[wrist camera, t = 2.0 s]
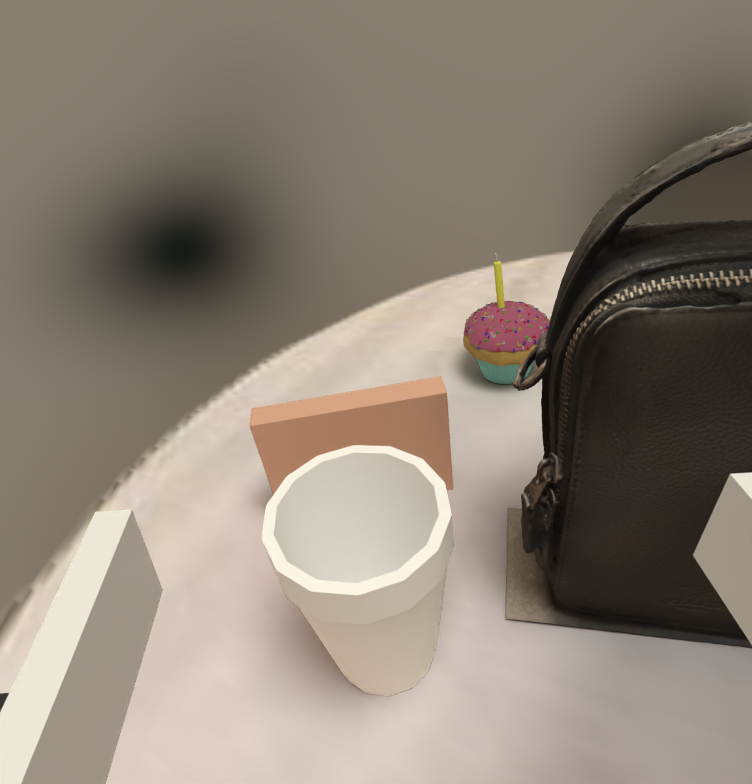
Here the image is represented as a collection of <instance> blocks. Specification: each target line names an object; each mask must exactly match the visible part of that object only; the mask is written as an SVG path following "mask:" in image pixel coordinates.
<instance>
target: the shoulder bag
mask: <svg viewBox="0 0 752 784" xmlns="http://www.w3.org/2000/svg"><path fill="white" fill-rule="evenodd" d="M750 149H752V122H749V123H745V124H744V125H740V126H735V127H733V128H730V129H727V130H723V131H719V132H714V133H711V134H709V135H706V136H704V137H701V138H699V139H697V140H695V141H693V142H691V143H689V144H687V145H686V146H684V147H683V148H681V149H678V150H677V151H675V152H674V153H672V154H669V155H668V156H666V157H665V158H663V159H662V160H660V161H658V162H656V163H655V164H653V165H652V166H650V167H649V168H647V169H646V170H644V171H642V172H641V173H640V174H639V175H637V176H636V177H635V178H634V179H633V180H631V181H630V182H628V183H626V185H625V186H624V187H623V188H621V189H620V190H618V191H617V192H616V193H615V194H614V195H612V197H611V198H610V199H609V200H608V201H607V202H606V203H605V205H604V206H603V207H602V208H601V209H600V211H599V212H598V214H597V215H596V216H595V217H594V218H593V220H592V222H591V224H590V225H589V227H588V228H587V230H586V231H585V233H584V235H583V236H582V238H581V240H580V242H579V244H578V246H577V247H576V249H575V251H574V253H573V255H572V257H571V259H570V261H569V263H568V266H567V268H566V272H565V274H564V276H563V279H562V281H561V284H560V288H559V291H558V295H557V299H556V301H555V305H554V308H553V312H552V316H551V319H550V323H549V327H548V330H546V331H545V332H543V334H542V335H541V336H540V338H539V340H538V343H537V345H536V346H535V347H534V349H533V350H532V351H531V352H530V353H529V354H528V355H527V357H526V358H525V360H524V362H523V363H522V364H521V365H520V366H519V368H518V371H517V376H516V379H515V380H514V381H513V386H514V387H515V388H517V389H518V391H520V390H525V389H529V388H530V387H532V386H534V385H535V384H536V383H538V382H539V381H540V379H541V378H542V399H541V407H542V432H543V445H544V452H545V453H544V456H543V460H541V461H540V463H539V465H538V470H537V475H536V476H535V477H534V478H533V479H532V481H531V482H530V483H529V484H528V485H527V486H526V487H525V489H524V493H523V494H522V495H521V498H522V509H515V508H508V537H507V591H506V619H515V620H524V621H533V622H541V623H551V624H559V625H565V626H574V627H582V628H592V629H601V630H608V631H617V632H627V633H634V634H642V635H651V636H659V637H667V638H676V639H684V640H693V641H701V642H712V643H719V644H727V645H734V646H743V647H752V645H751V643H750V641H749V640H748V638H747V637H746V635H745V634H744V632H743V631H742V629H741V628H740V626H739V625H738V623H737V622H736V620H735V619H734V617H733V616H732V614H731V613H730V611H729V610H728V608H727V606H726V605H725V603H724V602H723V600H722V599H721V597H720V596H719V594H718V593H717V591H716V590H715V588H714V587H713V585H712V584H711V582H710V581H709V579H708V578H707V576H706V575H705V573H704V571H703V570H702V568H701V567H700V565H699V564H698V562H697V561H696V559H695V558H694V556H693V554H694V552H695V550H696V547H697V545H698V543H699V541H700V539H701V536H702V534H703V532H704V530H705V528H706V525H707V523H708V521H709V519H710V517H711V514H712V512H713V510H714V508H715V506H716V503H717V501H718V499H719V497H720V495H721V493H722V490H723V488H724V486H725V484H726V482H727V479H728V477H729V475H730V474H735V473H752V220H743V221H733V220H729V221H710V222H709V221H705V222H698V221H694V222H693V221H688V222H678V223H675V222H670V223H665V222H664V223H659V224H653V223H640V224H637V225H632V226H630V225H624V224H625V222H626V221H627V219H628V218H629V217H630V216H631V215H633V214H634V213H636V212H637V211H638V210H640V209H641V208H642V207H643V206H644V205H645V204H647V203H649V202H651V201H652V199H654V198H655V197H656V196H657V195H658V194H660V193H661V192H662V191H663V190H665V189H666V188H668V187H670V186H671V185H673V184H675V183H677V182H678V181H680V180H682V179H684V178H686V177H688V176H690V175H693V174H695V173H697V172H700V171H701V170H703V169H704V168H705V167H707V166H708V165H710V164H713V163H716V162H719V161H721V160H723V159H725V158H728V157H732V156H735V155H737V154H740V153H743V152H745V151H748V150H750ZM534 360H535V361H536V365H537V366H538V370H537V371H536V372H535V373H534V374H533V375H532V376H531V377H529V378H528V379H526V380H525V381H524V377H525V375H526V372H527V370H528V368H529V366H530V365H531V364H532V362H533V361H534Z"/></svg>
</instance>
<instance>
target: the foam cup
mask: <svg viewBox="0 0 752 784" xmlns="http://www.w3.org/2000/svg"><path fill="white" fill-rule="evenodd" d="M261 539H262V541H263V544H264V546H265V549H266V551H267V554H268V556H269V559H270V561H271V564H272V566H273V569H274V571H275V573H276V575H277V577H278V579H279V581H280V584H281V586H282V588H283V590H284V592H285V594H286V596H287V598H288V599H289V600H290V601H292V602H293V603H295V604H296V605H297V606H298V607H299V609H300V610H301V612H302V613H303V615H304V616H305V618H306V619H307V621H308V622H309V624H310V625H311V627H312V628H313V630H314V631H315V633H316V634H317V636H318V637H319V639H320V640H321V642H322V643H323V645H324V646H325V648H326V649H327V651H328V652H329V654H330V655H331V657H332V658H333V660H334V661H335V663H336V664H337V666H338V667H339V669H340V670H341V672H342V673H343V675H344V676H345V677H346V678H347V680H348V681H349V682H351V683H352V684H353V685H355V686H356V687H358V688H359V689H361V690H362V691H364V692H365V693H367V694H375V695H383V696H392V695H394V694H397V693H400V692H403V691H406V690H408V689H411V688H413V687H414V686H415V685H416V684H417V683H418V682H419V681H420V680H421V679H422V678H423V677H424V676H425V674H426V673H427V672H428V671H429V669H430V666H431V663H432V660H433V657H434V654H435V651H436V645H437V639H438V631H439V624H440V616H441V609H442V601H443V593H444V586H445V578H446V571H447V563H448V560H449V557H450V555H451V552H452V549H453V546H454V541H453V527H452V514H451V509H450V504H449V500H448V495H447V490H446V485H445V482H444V481H443V480H442V479H441V478H440V477H439V476H438V475H437V474H436V473H435V471H434V470H433V469H432V468H431V467H430V466H429V465H428V464H427V463H426V462H425V461H424V460H423V459H422V458H419V457H417V456H414V455H412V454H409V453H407V452H404V451H401V450H399V449H396V448H394V447H391V446H365V445H353V446H349V447H346V448H342V449H339V450H335V451H332V452H328V453H325V454H321V455H318V456H316V457H315V458H313V459H312V460H310V461H309V462H307V463H306V464H304V465H303V466H301V467H300V468H298V469H297V470H295V471H294V472H292V473H291V474H289V475H288V476H286V478H285V479H284V481H283V482H282V483H281V485H280V486H279V488H278V489H277V491H276V492H275V493H274V495H273V496H272V498H271V499H270V501H269V502H268V503H267V505H266V509H265V517H264V524H263V531H262V538H261Z"/></svg>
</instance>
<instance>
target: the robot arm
mask: <svg viewBox="0 0 752 784" xmlns="http://www.w3.org/2000/svg"><path fill="white" fill-rule="evenodd" d="M693 556H694V558H695V559H696V561H697V562H698V564H699V565H700V567H701V568H702V570H703V571H704V573H705V575H706V576H707V578H708V579H709V581H710V582H711V584H712V585H713V587H714V588H715V590H716V591H717V593H718V594H719V596H720V597H721V599H722V600H723V602H724V603H725V605H726V606H727V608H728V610H729V611H730V613H731V614H732V616H733V617H734V619H735V620H736V622H737V623H738V625H739V626H740V628H741V629H742V631H743V632H744V634H745V635H746V637H747V638H748V640H749V641H750V643H751V645H752V473H735V474H730V475H729V477H728V479H727V482H726V484H725V486H724V488H723V490H722V493H721V495H720V497H719V499H718V501H717V503H716V506H715V508H714V510H713V512H712V514H711V517H710V519H709V521H708V523H707V525H706V528H705V530H704V532H703V534H702V536H701V539H700V541H699V543H698V545H697V547H696V550H695V552H694V554H693ZM162 591H163V590H162V587H161V584H160V582H159V579H158V577H157V574H156V571H155V569H154V566H153V563H152V561H151V558H150V556H149V553H148V550H147V548H146V545H145V543H144V540H143V537H142V535H141V532H140V529H139V527H138V524H137V522H136V519H135V516H134V514H133V511H132V510H118V511H101V512H95V514H94V516H93V518H92V520H91V522H90V524H89V527H88V529H87V531H86V533H85V535H84V537H83V539H82V541H81V543H80V545H79V548H78V550H77V552H76V554H75V556H74V558H73V560H72V562H71V564H70V566H69V569H68V571H67V573H66V575H65V577H64V579H63V581H62V583H61V585H60V588H59V590H58V592H57V594H56V596H55V598H54V600H53V602H52V604H51V606H50V609H49V611H48V613H47V615H46V617H45V619H44V621H43V623H42V625H41V627H40V630H39V632H38V634H37V636H36V638H35V640H34V642H33V644H32V646H31V649H30V651H29V653H28V655H27V657H26V659H25V661H24V663H23V665H22V667H21V670H20V672H19V674H18V676H17V678H16V680H15V682H14V684H13V686H12V688H11V691H10V693H3V694H0V784H105V783H106V780H107V777H108V773H109V770H110V767H111V763H112V760H113V756H114V753H115V750H116V746H117V743H118V739H119V736H120V733H121V729H122V726H123V723H124V719H125V716H126V712H127V709H128V706H129V702H130V699H131V696H132V692H133V689H134V685H135V682H136V679H137V675H138V672H139V668H140V665H141V662H142V658H143V655H144V652H145V648H146V645H147V641H148V638H149V635H150V631H151V628H152V624H153V621H154V618H155V614H156V611H157V608H158V604H159V601H160V597H161V594H162Z"/></svg>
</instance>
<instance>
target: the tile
mask: <svg viewBox="0 0 752 784" xmlns="http://www.w3.org/2000/svg"><path fill="white" fill-rule="evenodd" d="M250 429H251V432H252V435H253V437H254V440H255V443H256V446H257V449H258V452H259V455H260V457H261V460H262V463H263V466H264V469H265V472H266V474H267V477H268V480H269V483H270V486H271V489H272V491H273V494H274V493H275V492H276V491H277V489H278V488H279V486H280V485H281V483H282V482H283V481H284V479H285V478H286V476H288V475H289V474H291V473H292V472H294V471H295V470H297V469H298V468H300V467H301V466H303V465H304V464H306V463H307V462H309V461H310V460H312V459H313V458H315V457H316V456H318V455H321V454H325V453H328V452H332V451H335V450H339V449H342V448H346V447H349V446H353V445H365V446H391V447H394V448H396V449H399V450H401V451H404V452H407V453H409V454H412V455H414V456H417V457H419V458H422V459H423V460H424V461H425V462H426V463H427V464H428V465H429V466H430V467H431V468H432V469H433V470H434V471H435V473H436V474H437V475H438V476H439V477H440V478H441V479H442V480H443V481H444V482H445V485H446V490H452V489H453V481H452V465H451V449H450V434H449V418H448V402H447V392H446V389H445V386H444V383H443V380H442V378H441V376H440V377H434V378H428V379H423V380H417V381H411V382H405V383H399V384H393V385H387V386H381V387H376V388H370V389H364V390H358V391H352V392H346V393H340V394H334V395H329V396H323V397H317V398H311V399H305V400H299V401H293V402H287V403H282V404H276V405H270V406H264V407H258V408H252V409H251V418H250Z"/></svg>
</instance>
